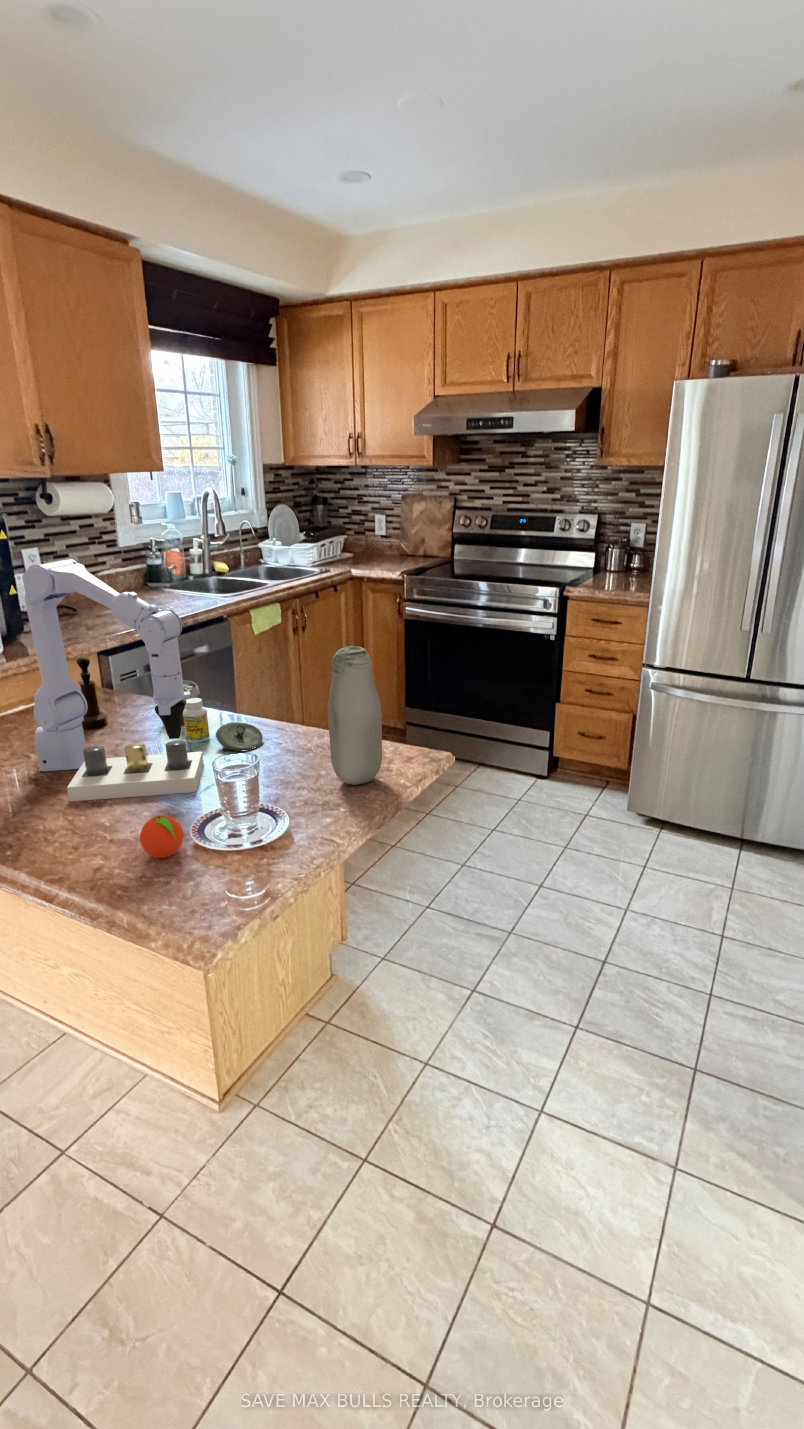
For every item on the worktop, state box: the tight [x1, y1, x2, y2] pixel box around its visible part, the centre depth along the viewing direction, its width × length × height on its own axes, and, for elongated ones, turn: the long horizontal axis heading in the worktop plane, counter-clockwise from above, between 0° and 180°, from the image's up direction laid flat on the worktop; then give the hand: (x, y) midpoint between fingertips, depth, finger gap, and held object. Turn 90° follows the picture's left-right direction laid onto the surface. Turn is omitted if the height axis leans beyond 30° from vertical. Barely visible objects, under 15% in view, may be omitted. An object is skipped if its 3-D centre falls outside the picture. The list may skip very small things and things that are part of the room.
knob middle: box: [124, 742, 148, 773], centre depth 152 cm, size 4×4×5 cm
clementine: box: [139, 814, 184, 859], centre depth 124 cm, size 8×7×7 cm
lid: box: [215, 722, 264, 752], centre depth 172 cm, size 11×10×5 cm
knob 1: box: [83, 745, 108, 776], centre depth 151 cm, size 4×4×5 cm
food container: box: [182, 679, 200, 728], centre depth 187 cm, size 12×6×10 cm, turn 58°
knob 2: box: [164, 739, 189, 770], centre depth 153 cm, size 4×4×5 cm
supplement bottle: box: [183, 697, 211, 744], centre depth 175 cm, size 5×5×10 cm
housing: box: [66, 751, 205, 802], centre depth 154 cm, size 24×14×3 cm, turn 98°
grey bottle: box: [327, 645, 383, 786], centre depth 147 cm, size 10×10×28 cm
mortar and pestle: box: [76, 654, 108, 731], centre depth 184 cm, size 7×6×18 cm
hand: (174, 737), depth 152 cm, fingers closed
